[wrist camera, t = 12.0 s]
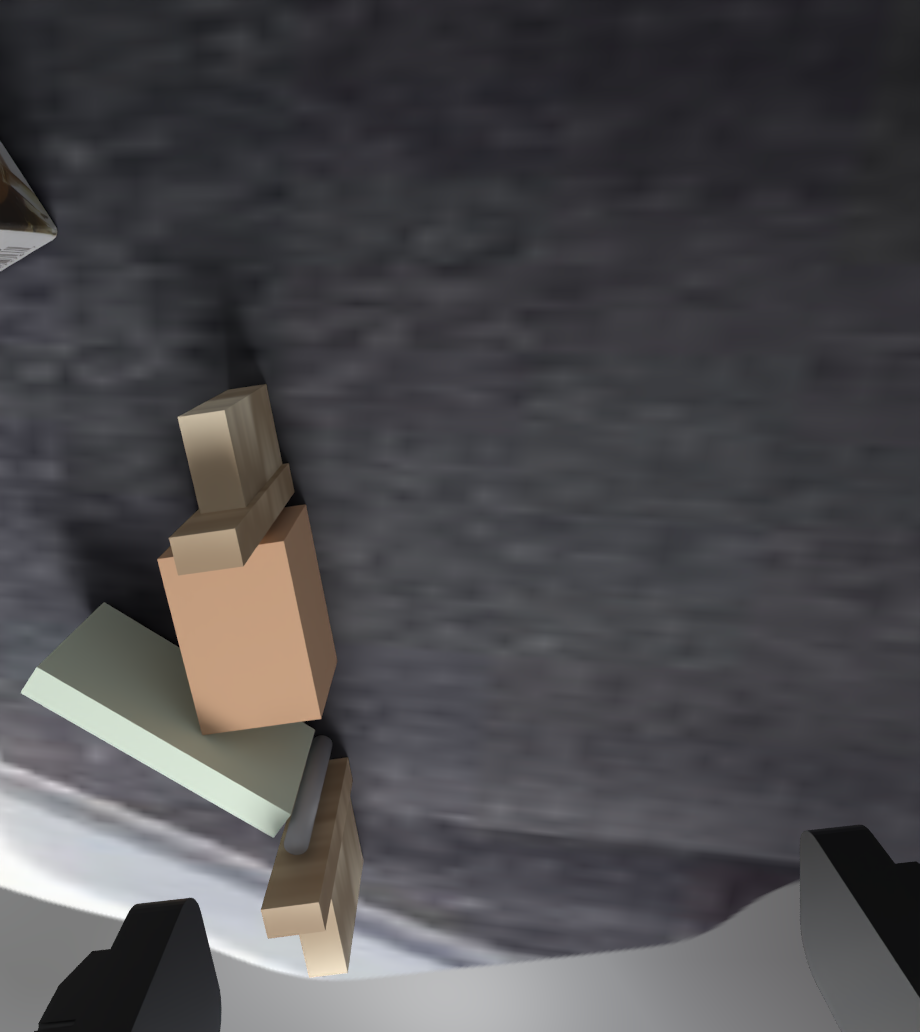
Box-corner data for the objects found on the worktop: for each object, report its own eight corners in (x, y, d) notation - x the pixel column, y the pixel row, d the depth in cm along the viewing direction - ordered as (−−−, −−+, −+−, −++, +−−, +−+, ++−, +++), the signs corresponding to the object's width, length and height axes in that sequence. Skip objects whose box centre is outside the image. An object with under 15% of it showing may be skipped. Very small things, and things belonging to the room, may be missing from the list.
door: (78, 643, 36) (-3, 725, 29) (106, 599, 35) (29, 673, 29) (308, 779, 38) (280, 884, 31) (338, 739, 37) (315, 838, 31)
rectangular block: (197, 519, 35) (157, 559, 30) (306, 503, 35) (284, 541, 30) (234, 674, 37) (202, 735, 32) (337, 659, 36) (321, 719, 32)
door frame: (221, 390, 33) (142, 432, 24) (272, 383, 33) (211, 422, 24) (325, 865, 39) (291, 1034, 30) (368, 860, 39) (346, 1027, 30)
